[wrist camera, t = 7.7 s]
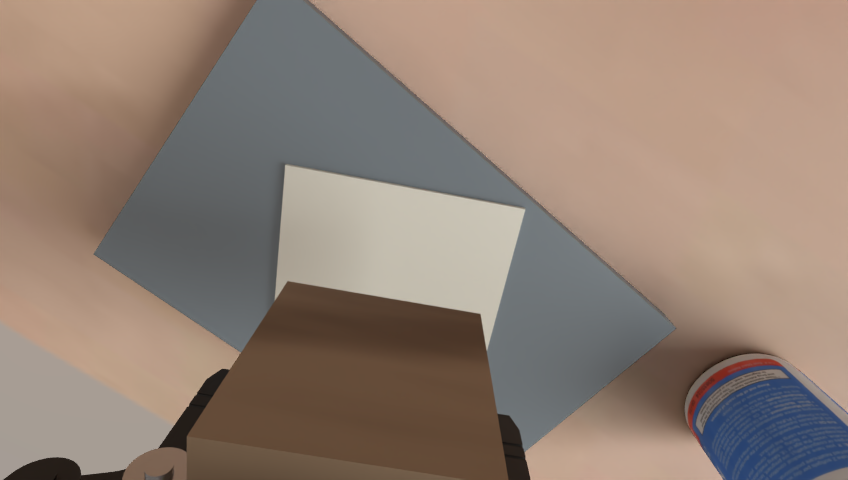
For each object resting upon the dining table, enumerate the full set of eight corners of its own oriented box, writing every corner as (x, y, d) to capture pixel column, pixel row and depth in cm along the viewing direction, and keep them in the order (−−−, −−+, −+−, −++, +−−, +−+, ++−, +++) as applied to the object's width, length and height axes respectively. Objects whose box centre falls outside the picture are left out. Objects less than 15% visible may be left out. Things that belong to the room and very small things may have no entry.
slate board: (112, 243, 21) (90, 256, 19) (284, -21, 17) (271, -27, 16) (463, 480, 25) (464, 504, 24) (663, 313, 21) (678, 331, 20)
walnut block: (287, 281, 14) (187, 436, 8) (480, 313, 14) (509, 486, 8) (274, 433, 16) (186, 641, 10) (443, 459, 16) (447, 677, 10)
